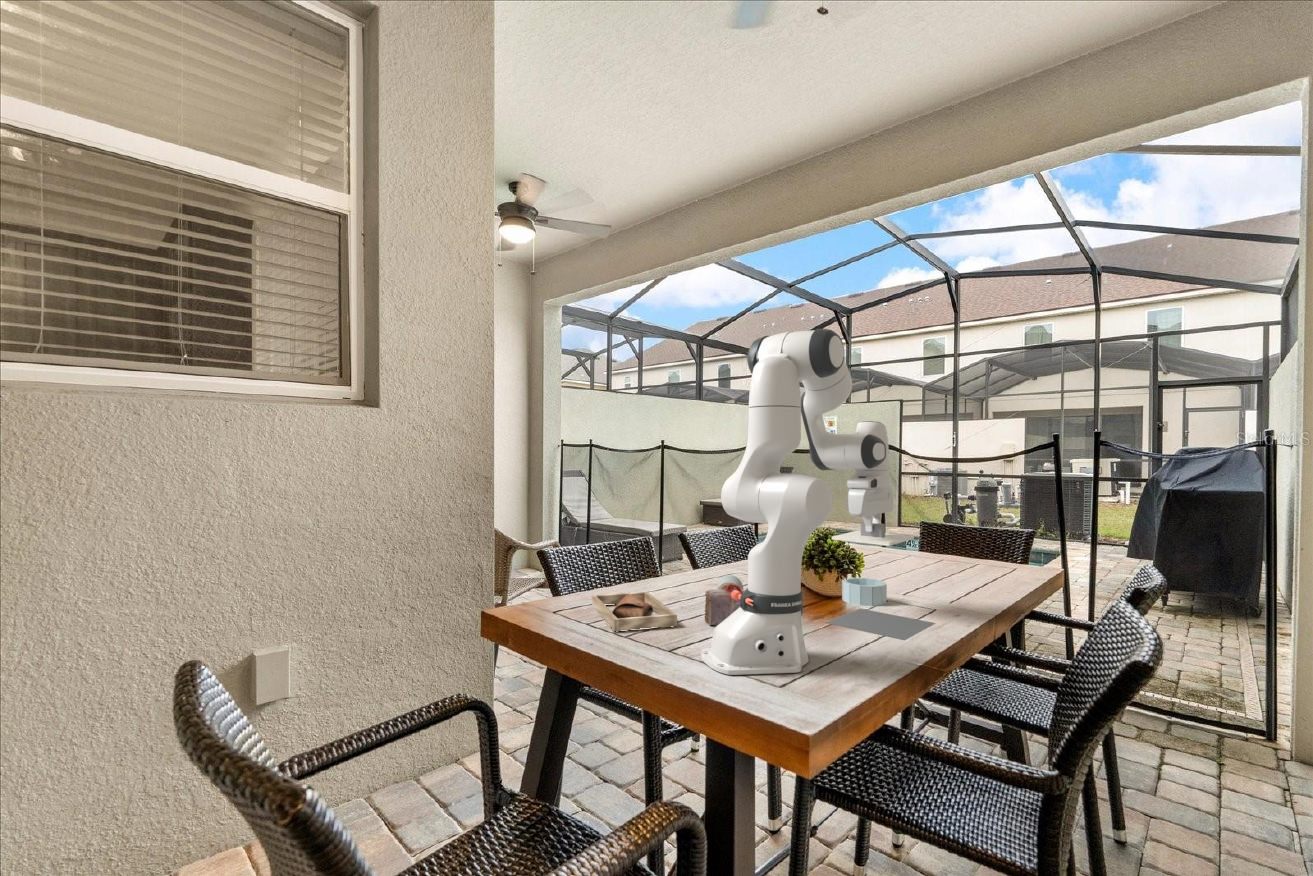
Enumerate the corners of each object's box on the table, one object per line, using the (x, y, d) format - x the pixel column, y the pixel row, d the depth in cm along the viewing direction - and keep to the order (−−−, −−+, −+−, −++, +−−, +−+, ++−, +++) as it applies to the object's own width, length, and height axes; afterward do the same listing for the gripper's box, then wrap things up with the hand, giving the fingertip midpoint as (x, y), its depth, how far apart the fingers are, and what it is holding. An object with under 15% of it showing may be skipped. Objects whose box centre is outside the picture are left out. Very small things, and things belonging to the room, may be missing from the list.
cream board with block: (889, 546, 153) (888, 529, 153) (831, 539, 164) (831, 523, 164) (913, 538, 164) (913, 523, 164) (858, 533, 176) (858, 518, 176)
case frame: (614, 632, 143) (614, 619, 143) (592, 606, 168) (592, 595, 168) (677, 627, 148) (677, 615, 148) (646, 602, 173) (646, 591, 173)
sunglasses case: (644, 623, 149) (630, 599, 149) (619, 636, 149) (606, 613, 150) (653, 605, 167) (641, 584, 167) (631, 617, 167) (619, 596, 168)
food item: (754, 618, 157) (754, 580, 157) (763, 627, 149) (763, 587, 149) (703, 619, 156) (703, 581, 156) (709, 628, 148) (709, 588, 148)
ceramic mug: (715, 607, 168) (716, 579, 168) (716, 600, 176) (717, 574, 176) (753, 609, 167) (754, 581, 167) (753, 602, 175) (753, 576, 175)
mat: (904, 642, 137) (904, 640, 137) (824, 625, 151) (824, 622, 151) (935, 625, 151) (935, 623, 151) (860, 610, 165) (860, 608, 165)
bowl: (859, 609, 167) (859, 587, 167) (834, 599, 178) (834, 579, 179) (895, 606, 171) (895, 585, 171) (868, 596, 182) (868, 576, 182)
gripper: (877, 478, 174) (878, 525, 174) (843, 481, 160) (844, 533, 159) (898, 479, 170) (899, 527, 169) (866, 482, 155) (867, 536, 155)
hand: (872, 530), depth 164 cm, fingers closed on cream board with block, 2 cm apart
